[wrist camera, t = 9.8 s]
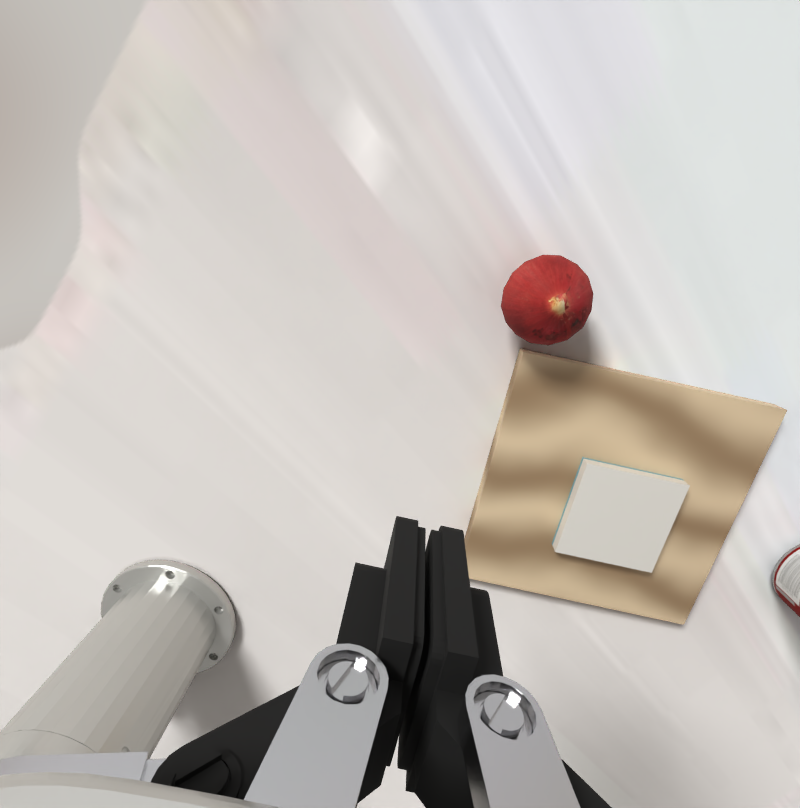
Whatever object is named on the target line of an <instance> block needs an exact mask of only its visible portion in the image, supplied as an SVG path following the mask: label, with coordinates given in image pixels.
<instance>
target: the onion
mask: <svg viewBox="0 0 800 808" xmlns="http://www.w3.org/2000/svg"><path fill="white" fill-rule="evenodd" d="M592 300H593V291H592V288H591V284H590V281H589V278H588V276H587V275H586V274H585V273H584V272H583V270H582V269H581V268H580V267H579V266H578V265H577V264H575V263H574V262H572V261H570V260H568V259H566V258H564V257H562V256H560V255H541V256H539V257H536V258H534V259H531V260H529V261H526V262H524V263H523V264H522V265H521V266H520V267H519V268H518V269H516V270H515V271H514V272H513V273H512V275H511V276H510V278H509V280H508V282H507V284H506V285H505V287H504V290H503V297H502V303H501V308H502V311H503V314H504V318H505V321H506V323H507V324H508V326H509V327H510V328H511V329H512V330H513V331H514V333H515V334H516V335H518V336H519V337H521V338H523V339H525V340H526V341H528V342H530V343H535V344H543V345H551V344H555V343H558V342H562V341H565V340H568V339H569V338H570V337H571V336H573V335H574V334H575V333H577V332H578V331H579V330H580V329H582V328H583V326H584V324H585V322H586V320H587V318H588V316H589V314H590V312H591V310H592Z"/></svg>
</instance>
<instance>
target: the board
mask: <svg viewBox="0 0 800 808" xmlns="http://www.w3.org/2000/svg"><path fill="white" fill-rule="evenodd" d="M786 412H787V410H786V409H783V408H781V407H779V406H777V405H774V404H771V403H766V402H762V401H757V400H752V399H748V398H743V397H739V396H734V395H730V394H725V393H721V392H716V391H712V390H707V389H702V388H698V387H693V386H689V385H684V384H680V383H675V382H671V381H666V380H662V379H657V378H652V377H648V376H643V375H639V374H634V373H630V372H625V371H621V370H616V369H611V368H607V367H602V366H598V365H593V364H589V363H584V362H580V361H575V360H571V359H566V358H561V357H557V356H552V355H548V354H543V353H539V352H534V351H530V350H525V349H521V348H520V350H519V353H518V357H517V360H516V363H515V367H514V370H513V374H512V377H511V381H510V384H509V388H508V391H507V394H506V398H505V401H504V405H503V408H502V412H501V415H500V419H499V422H498V425H497V429H496V432H495V436H494V439H493V443H492V446H491V450H490V453H489V456H488V460H487V463H486V467H485V470H484V474H483V477H482V481H481V484H480V487H479V491H478V494H477V498H476V501H475V505H474V508H473V511H472V515H471V518H470V522H469V525H468V529H467V532H466V536H465V539H464V541H465V549H466V557H467V565H468V573H469V579H474V580H479V581H483V582H488V583H492V584H497V585H502V586H506V587H511V588H516V589H520V590H525V591H530V592H534V593H539V594H543V595H548V596H553V597H557V598H562V599H567V600H571V601H576V602H581V603H585V604H590V605H594V606H599V607H604V608H608V609H613V610H618V611H622V612H627V613H632V614H636V615H641V616H645V617H650V618H655V619H659V620H664V621H669V622H673V623H678V624H683V625H684V623H685V621H686V619H687V617H688V615H689V613H690V611H691V609H692V607H693V605H694V603H695V600H696V598H697V596H698V594H699V592H700V590H701V588H702V586H703V584H704V582H705V580H706V578H707V576H708V574H709V571H710V569H711V567H712V565H713V563H714V561H715V559H716V557H717V555H718V553H719V551H720V549H721V547H722V544H723V542H724V540H725V538H726V536H727V534H728V532H729V530H730V528H731V526H732V524H733V522H734V520H735V518H736V515H737V513H738V511H739V509H740V507H741V505H742V503H743V501H744V499H745V497H746V495H747V493H748V491H749V488H750V486H751V484H752V482H753V480H754V478H755V476H756V474H757V472H758V470H759V468H760V466H761V464H762V462H763V459H764V457H765V455H766V453H767V451H768V449H769V447H770V445H771V443H772V441H773V439H774V437H775V435H776V432H777V430H778V428H779V426H780V424H781V422H782V420H783V418H784V416H785V414H786ZM582 457H584V458H589V459H594V460H598V461H603V462H607V463H612V464H617V465H621V466H626V467H630V468H635V469H639V470H644V471H649V472H653V473H658V474H662V475H667V476H672V477H676V478H681V479H683V480H684V481H685V482H686V483H687V484H688V485H690V487H689V489H688V491H687V494H686V496H685V498H684V500H683V503H682V505H681V507H680V509H679V512H678V514H677V516H676V519H675V521H674V523H673V525H672V528H671V530H670V532H669V535H668V537H667V539H666V541H665V544H664V546H663V548H662V550H661V553H660V555H659V557H658V560H657V562H656V564H655V566H654V569H653V571H652V573H650V572H645V571H641V570H636V569H631V568H627V567H622V566H618V565H613V564H608V563H604V562H599V561H594V560H590V559H585V558H581V557H576V556H571V555H567V554H562V553H557V552H555V550H554V548H553V546H552V541H553V538H554V536H555V533H556V530H557V527H558V524H559V521H560V519H561V516H562V513H563V510H564V507H565V505H566V502H567V499H568V496H569V493H570V491H571V488H572V485H573V482H574V479H575V476H576V474H577V471H578V468H579V465H580V462H581V460H582Z"/></svg>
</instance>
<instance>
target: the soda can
mask: <svg viewBox="0 0 800 808" xmlns="http://www.w3.org/2000/svg"><path fill="white" fill-rule="evenodd" d="M773 586H774V589H775V591H776V593H777V595H778V596H779V597H780V598H781V599H782V600H783V601H784V602H785V603H786V604H787V605H788V606H789V607H790V608H791V609H792V610H793V611H794V612H795V613H796V614H797V615H798V616H799V617H800V544H799V545H797V546H795V547H794V548H792V549H791V550H789V551H788V552H787V553H786V554H784V555H783V557H782V558H781V559H780V560H779V562H778V563H777V565H776V567H775V569H774V573H773Z"/></svg>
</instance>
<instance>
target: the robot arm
mask: <svg viewBox="0 0 800 808" xmlns="http://www.w3.org/2000/svg"><path fill="white" fill-rule="evenodd" d="M101 616H102V619H101V620H100V621H99V622H98V623H97V624H96V626H95V627H94V628H93V629H92V630H91V631H90V632H89V633H88V634H87V636H86V637H85V638H84V639H83V640H82V641H81V642H80V643H79V644H78V646H77V647H76V648H75V649H74V650H73V651H72V652H71V653H70V655H69V656H68V657H67V658H66V659H65V660H64V661H63V662H62V663H61V665H60V666H59V667H58V668H57V669H56V670H55V671H54V672H53V673H52V675H51V676H50V677H49V678H48V679H47V680H46V681H45V682H44V684H43V685H42V686H41V687H40V688H39V689H38V690H37V691H36V692H35V694H34V695H33V696H32V697H31V698H30V699H29V700H28V701H27V703H26V704H25V705H24V706H23V707H22V708H21V709H20V710H19V711H18V713H17V714H16V715H15V716H14V717H13V718H12V719H11V720H10V721H9V723H8V724H7V725H6V726H5V727H4V728H3V729H2V730H1V732H0V808H356V807H357V804H358V803H359V802H360V801H361V800H362V799H364V798H365V797H366V796H367V795H369V794H370V793H371V792H373V791H374V790H375V789H376V788H378V787H379V786H380V785H381V782H382V778H383V775H384V771H385V768H386V766H390V764H391V761H392V758H393V754H394V751H395V747H396V744H397V740H398V736H399V747H398V768H399V769H404V770H407V773H406V791H409V792H414V793H415V794H416V795H417V796H418V798H419V799H420V800H421V802H422V803H423V804H424V806H425V807H426V808H611V807H610V806H609V805H608V804H607V803H606V802H605V801H604V800H603V799H602V798H601V797H600V796H599V795H598V794H597V793H596V792H595V791H594V790H593V789H592V788H591V787H590V786H589V785H588V784H587V783H586V782H585V781H584V780H583V779H582V778H581V777H580V776H579V775H577V774H576V773H575V772H574V771H573V770H572V769H571V768H570V767H569V766H568V765H567V764H566V763H565V762H564V761H563V760H562V759H561V757H560V755H559V752H558V750H557V747H556V745H555V742H554V740H553V737H552V734H551V732H550V729H549V727H548V724H547V722H546V719H545V717H544V714H543V712H542V710H541V708H540V706H539V704H538V703H537V701H536V700H535V698H534V697H533V696H532V695H531V694H530V693H529V692H528V690H526V689H525V688H524V687H522V686H521V685H520V684H518V683H517V682H515V681H513V680H511V679H509V678H506V677H503V672H502V667H501V661H500V655H499V649H498V644H497V638H496V632H495V627H494V621H493V615H492V609H491V604H490V598H489V594H488V592H487V591H485V590H481V589H476V588H471V587H470V582H469V573H468V565H467V557H466V549H465V541H464V533H463V530H459V529H454V528H449V527H445V526H441V527H440V529H439V531H436V530H431V532H430V536H429V539H428V543H427V547H426V551H425V528H422V527H418V521H417V520H413V519H408V518H403V517H399V516H397V517H396V520H395V524H394V528H393V532H392V537H391V541H390V545H389V549H388V554H387V558H386V562H385V566H384V569H383V568H379V567H374V566H369V565H365V564H360V563H355V567H354V571H353V576H352V580H351V584H350V588H349V592H348V597H347V601H346V605H345V609H344V614H343V618H342V622H341V626H340V630H339V635H338V639H337V643H336V645H332V646H329V647H326V648H325V649H323V650H322V651H321V652H319V653H318V654H317V655H316V656H315V658H314V659H313V660H312V662H311V663H310V665H309V668H308V670H307V672H306V674H305V676H304V678H303V680H302V682H301V684H300V685H299V686H297V687H295V688H294V689H292V690H290V691H288V692H286V693H284V694H282V695H280V696H278V697H276V698H274V699H272V700H270V701H268V702H267V703H265V704H263V705H261V706H259V707H257V708H255V709H253V710H251V711H249V712H247V713H245V714H243V715H242V716H240V717H238V718H236V719H234V720H232V721H230V722H228V723H226V724H224V725H222V726H220V727H218V728H216V729H215V730H213V731H211V732H209V733H207V734H205V735H203V736H201V737H199V738H197V739H195V740H193V741H191V742H190V743H188V744H186V745H184V746H182V747H181V748H179V749H178V750H176V751H175V752H174V753H172V754H171V755H169V756H168V757H167V759H150V757H151V755H152V753H153V751H154V750H155V748H156V746H157V744H158V742H159V741H160V739H161V737H162V735H163V733H164V731H165V730H166V728H167V726H168V724H169V722H170V721H171V719H172V717H173V715H174V713H175V712H176V710H177V708H178V706H179V704H180V702H181V701H182V699H183V697H184V695H185V693H186V692H187V690H188V688H189V686H190V684H191V683H192V681H193V679H194V677H195V675H196V673H200V672H203V671H205V670H207V669H210V668H211V667H213V666H214V665H216V664H217V663H218V662H219V661H220V660H221V659H222V658H223V657H224V656H225V655H226V653H227V651H228V649H229V647H230V646H231V644H232V641H233V638H234V636H235V630H236V620H235V613H234V610H233V607H232V604H231V602H230V601H229V599H228V597H227V595H226V594H225V593H224V591H223V590H222V589H221V588H220V587H219V585H218V584H217V583H215V582H214V581H213V580H212V579H211V578H210V577H209V576H207V575H205V574H204V573H202V572H201V571H199V570H197V569H195V568H193V567H190V566H188V565H186V564H182V563H179V562H175V561H168V560H149V561H144V562H140V563H136V564H134V565H132V566H130V567H128V568H126V569H125V570H124V571H122V572H121V573H120V574H119V575H117V577H116V578H115V579H114V580H113V581H112V582H111V583H110V584H109V586H108V587H107V589H106V591H105V593H104V595H103V599H102V602H101Z"/></svg>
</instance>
